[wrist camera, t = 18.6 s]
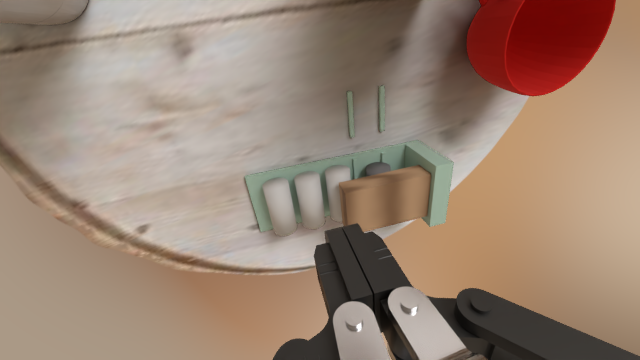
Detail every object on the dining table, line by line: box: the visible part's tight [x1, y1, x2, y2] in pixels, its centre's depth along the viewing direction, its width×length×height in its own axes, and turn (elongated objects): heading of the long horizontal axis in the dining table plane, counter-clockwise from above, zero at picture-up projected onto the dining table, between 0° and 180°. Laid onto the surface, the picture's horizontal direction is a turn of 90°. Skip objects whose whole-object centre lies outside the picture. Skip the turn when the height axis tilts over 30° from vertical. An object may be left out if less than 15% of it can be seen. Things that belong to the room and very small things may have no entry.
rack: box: [347, 85, 385, 137], centre depth 38 cm, size 5×6×1 cm
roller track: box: [245, 140, 454, 236], centre depth 39 cm, size 27×10×9 cm, turn 97°
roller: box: [366, 162, 391, 177], centre depth 42 cm, size 4×6×4 cm, turn 7°
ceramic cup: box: [467, 0, 616, 96], centre depth 32 cm, size 13×17×10 cm
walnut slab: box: [339, 165, 431, 232], centre depth 38 cm, size 12×7×3 cm, turn 97°
